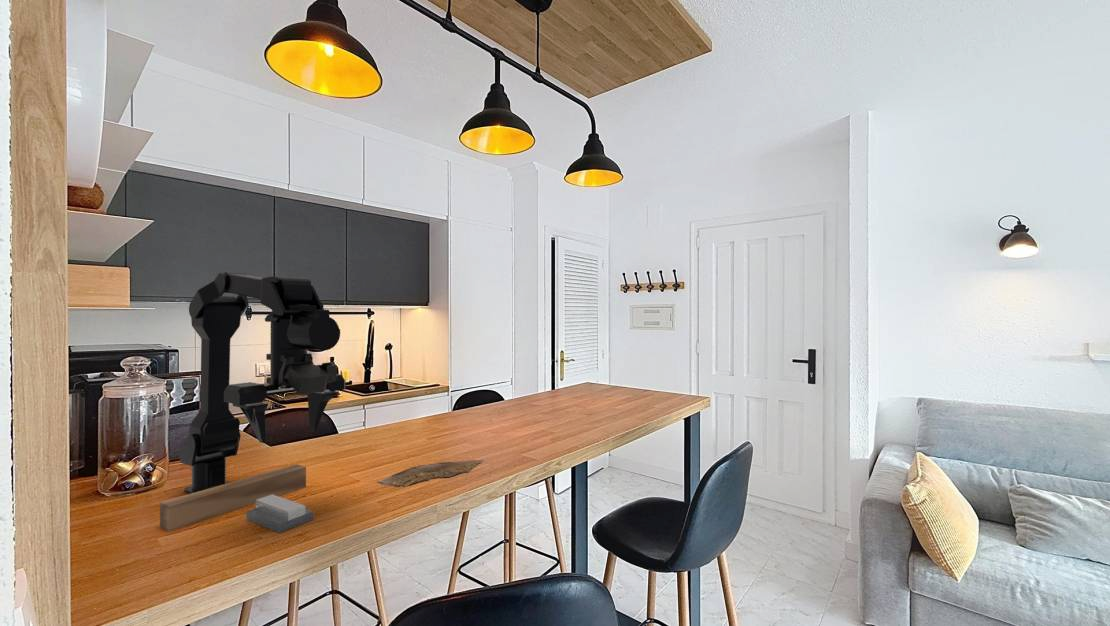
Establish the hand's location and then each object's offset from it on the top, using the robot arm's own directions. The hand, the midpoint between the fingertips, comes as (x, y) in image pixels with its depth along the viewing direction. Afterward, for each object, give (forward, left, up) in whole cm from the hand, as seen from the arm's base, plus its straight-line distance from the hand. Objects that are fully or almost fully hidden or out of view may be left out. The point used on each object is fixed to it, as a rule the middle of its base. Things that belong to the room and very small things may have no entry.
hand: (289, 436), depth 86 cm
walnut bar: (-14, -1, -15) cm, 20 cm away
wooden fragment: (+4, +32, -15) cm, 36 cm away
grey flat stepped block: (-1, -1, -14) cm, 15 cm away
